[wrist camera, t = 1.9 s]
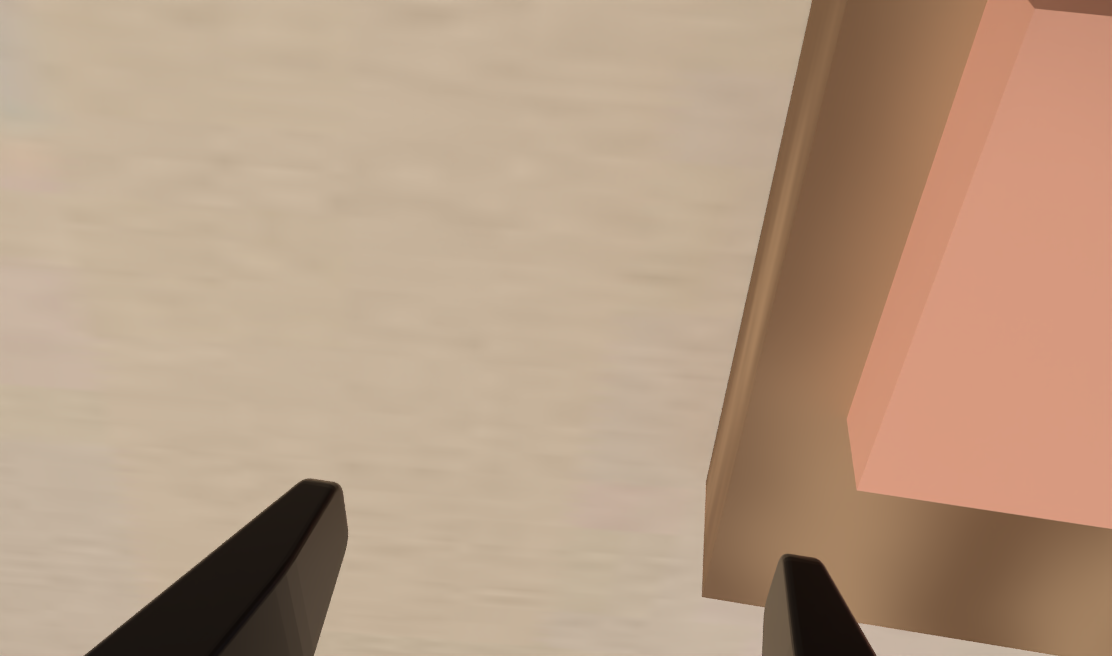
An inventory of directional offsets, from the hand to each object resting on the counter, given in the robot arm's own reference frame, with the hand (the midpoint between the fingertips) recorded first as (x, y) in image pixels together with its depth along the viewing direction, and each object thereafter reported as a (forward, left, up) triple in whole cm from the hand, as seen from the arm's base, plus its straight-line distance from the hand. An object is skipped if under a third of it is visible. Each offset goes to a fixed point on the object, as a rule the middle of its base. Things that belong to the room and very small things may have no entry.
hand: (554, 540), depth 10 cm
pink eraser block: (-8, 0, -8) cm, 11 cm away
